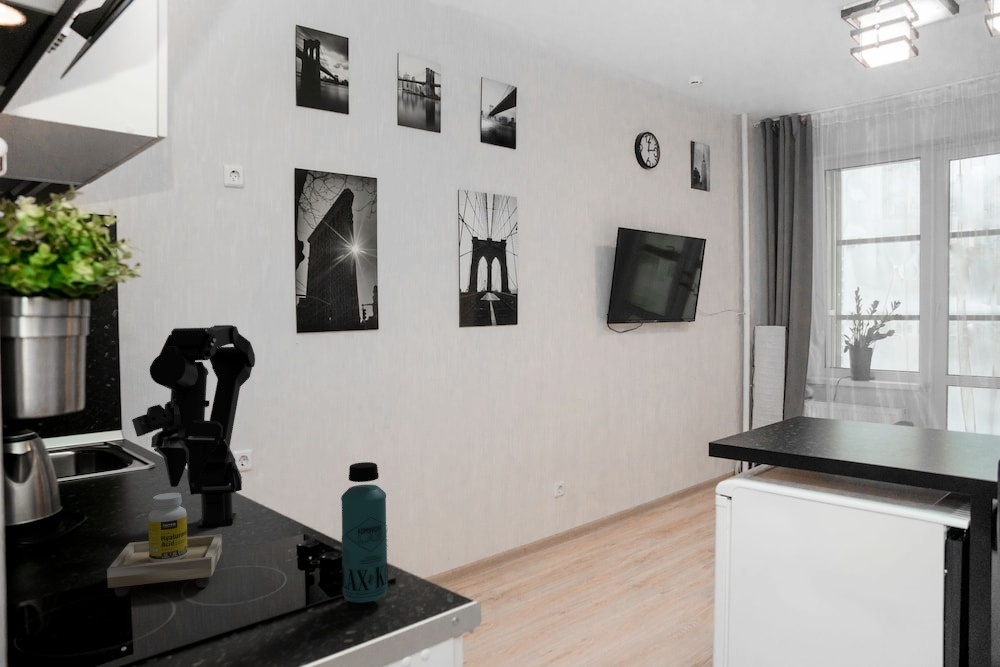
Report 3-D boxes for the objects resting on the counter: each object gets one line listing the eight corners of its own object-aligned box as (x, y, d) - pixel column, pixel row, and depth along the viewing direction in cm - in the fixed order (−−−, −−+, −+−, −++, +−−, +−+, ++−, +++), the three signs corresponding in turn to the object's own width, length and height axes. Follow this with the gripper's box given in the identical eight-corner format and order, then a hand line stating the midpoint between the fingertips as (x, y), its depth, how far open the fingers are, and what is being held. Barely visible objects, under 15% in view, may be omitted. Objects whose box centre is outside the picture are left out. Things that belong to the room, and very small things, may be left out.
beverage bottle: (333, 604, 97) (329, 464, 96) (372, 590, 101) (369, 456, 101) (358, 618, 92) (355, 471, 91) (399, 603, 97) (395, 463, 96)
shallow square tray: (130, 571, 111) (129, 542, 110) (222, 561, 114) (221, 534, 114) (108, 601, 99) (107, 569, 99) (212, 589, 103) (210, 558, 102)
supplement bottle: (160, 566, 103) (157, 502, 103) (142, 559, 106) (140, 497, 106) (194, 556, 107) (192, 494, 107) (176, 549, 110) (174, 489, 110)
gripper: (123, 400, 123) (116, 489, 119) (157, 383, 110) (149, 482, 106) (188, 404, 131) (182, 488, 127) (226, 388, 118) (221, 481, 114)
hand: (183, 485), depth 118 cm, fingers open, 9 cm apart
